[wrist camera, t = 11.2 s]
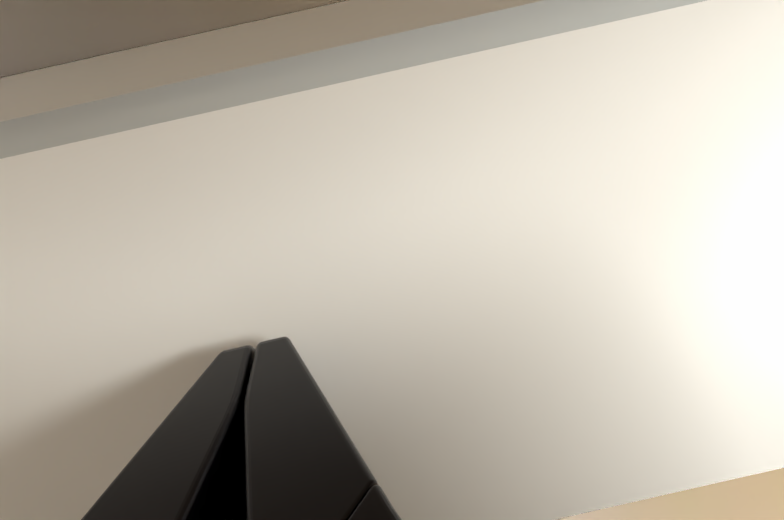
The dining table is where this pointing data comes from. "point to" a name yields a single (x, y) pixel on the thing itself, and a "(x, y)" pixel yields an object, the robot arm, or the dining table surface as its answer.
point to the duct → (274, 61)
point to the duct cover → (429, 271)
